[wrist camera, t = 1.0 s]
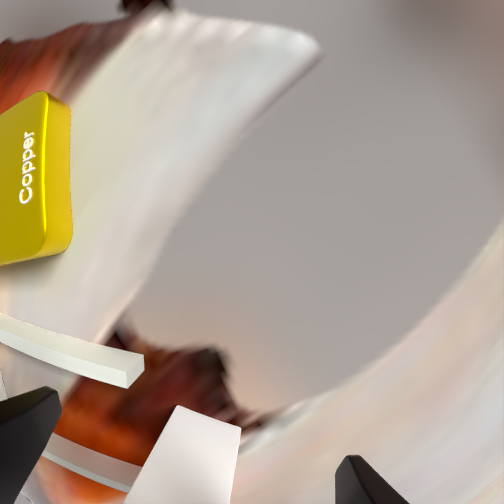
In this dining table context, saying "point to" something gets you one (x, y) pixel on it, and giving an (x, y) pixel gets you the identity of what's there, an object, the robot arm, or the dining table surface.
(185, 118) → the dining table surface
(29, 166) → the element tile
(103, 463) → the u rest
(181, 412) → the milk
